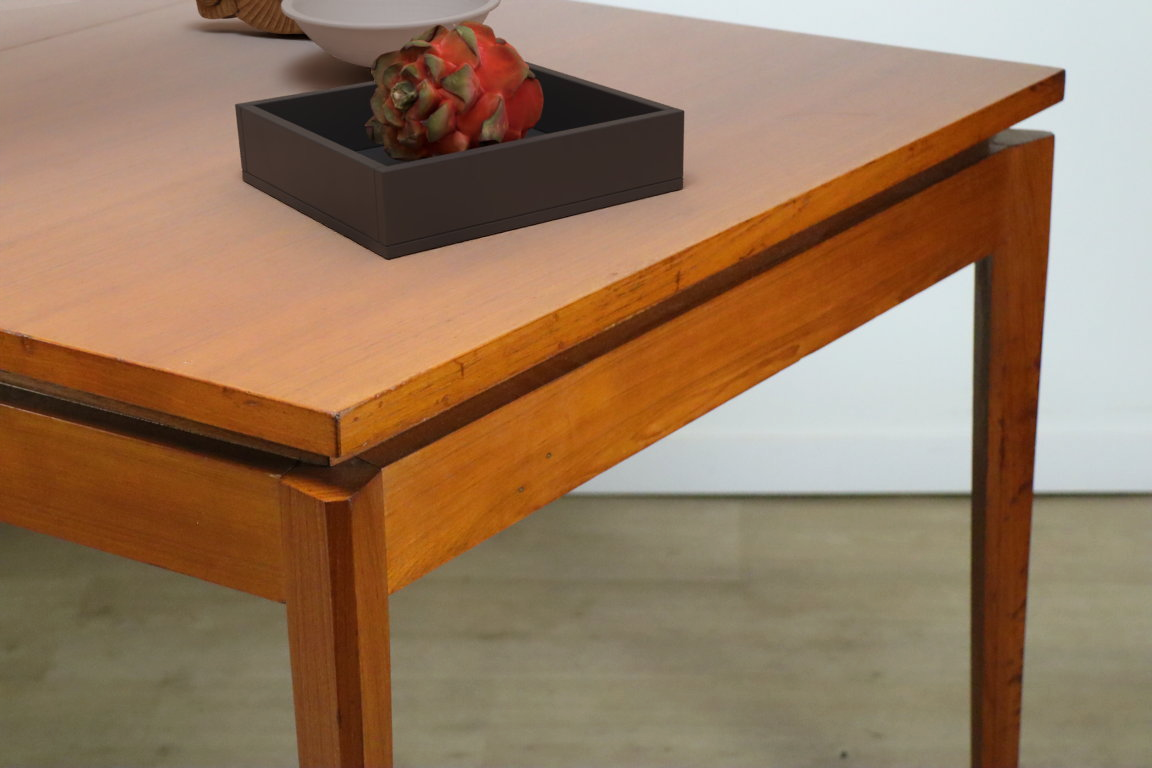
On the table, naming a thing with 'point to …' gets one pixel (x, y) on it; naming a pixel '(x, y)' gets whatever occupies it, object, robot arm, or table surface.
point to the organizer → (459, 164)
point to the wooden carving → (251, 14)
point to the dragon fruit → (452, 94)
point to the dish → (377, 23)
